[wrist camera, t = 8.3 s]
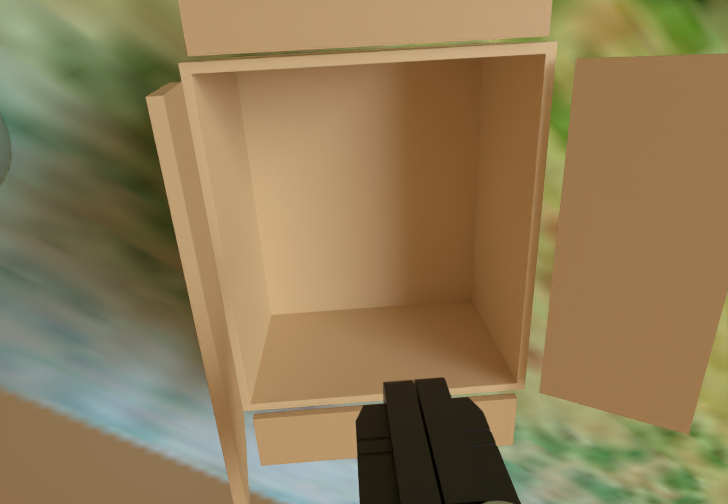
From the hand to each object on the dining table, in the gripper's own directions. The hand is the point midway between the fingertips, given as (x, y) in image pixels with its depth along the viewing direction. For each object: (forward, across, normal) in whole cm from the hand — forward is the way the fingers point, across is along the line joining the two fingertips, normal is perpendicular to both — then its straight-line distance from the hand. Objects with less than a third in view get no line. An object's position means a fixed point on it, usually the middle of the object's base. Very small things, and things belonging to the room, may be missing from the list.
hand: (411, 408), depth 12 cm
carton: (+19, 0, 0) cm, 19 cm away
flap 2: (+7, -10, 0) cm, 12 cm away
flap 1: (+6, +6, 0) cm, 8 cm away
